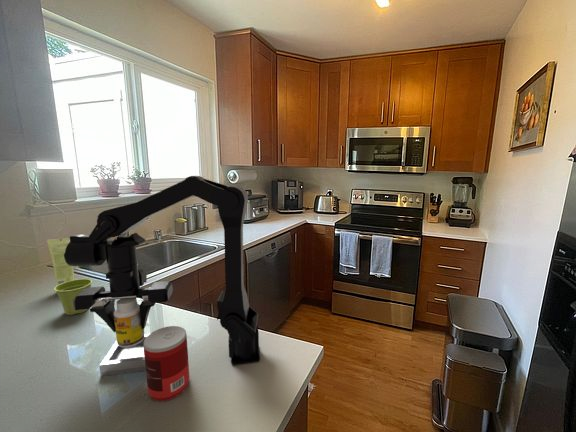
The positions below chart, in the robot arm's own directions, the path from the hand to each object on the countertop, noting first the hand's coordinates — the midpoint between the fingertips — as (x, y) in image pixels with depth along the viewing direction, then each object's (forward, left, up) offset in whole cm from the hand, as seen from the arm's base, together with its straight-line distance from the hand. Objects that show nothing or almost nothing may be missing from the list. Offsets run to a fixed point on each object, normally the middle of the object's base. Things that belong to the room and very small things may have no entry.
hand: (129, 329), depth 64 cm
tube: (+37, -46, -7) cm, 60 cm away
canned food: (-10, +11, -7) cm, 17 cm away
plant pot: (+25, -28, -7) cm, 38 cm away
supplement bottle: (0, 0, -3) cm, 3 cm away
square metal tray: (-1, 0, -7) cm, 7 cm away
